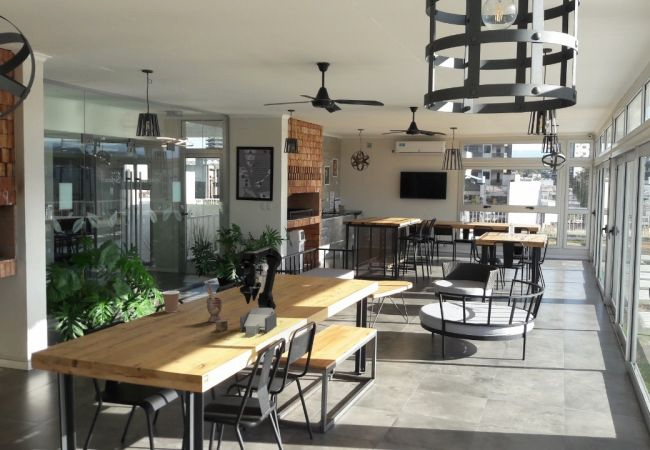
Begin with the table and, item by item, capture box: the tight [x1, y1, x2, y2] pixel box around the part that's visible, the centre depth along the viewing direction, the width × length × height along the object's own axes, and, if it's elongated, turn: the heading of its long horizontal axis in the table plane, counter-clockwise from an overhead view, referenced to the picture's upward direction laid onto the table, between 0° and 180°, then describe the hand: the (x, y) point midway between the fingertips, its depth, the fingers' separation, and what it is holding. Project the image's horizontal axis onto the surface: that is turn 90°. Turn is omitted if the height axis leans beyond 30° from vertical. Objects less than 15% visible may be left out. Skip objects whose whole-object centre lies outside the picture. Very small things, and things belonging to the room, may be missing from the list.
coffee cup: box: [162, 290, 180, 313], centre depth 387 cm, size 10×10×12 cm
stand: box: [215, 319, 228, 332], centre depth 338 cm, size 4×4×5 cm
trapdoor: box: [244, 306, 275, 329], centre depth 341 cm, size 16×12×3 cm
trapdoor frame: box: [239, 311, 278, 334], centre depth 340 cm, size 16×15×8 cm
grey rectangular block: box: [245, 323, 260, 337], centre depth 330 cm, size 5×5×7 cm
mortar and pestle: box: [205, 285, 223, 323], centre depth 360 cm, size 12×9×20 cm
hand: (250, 302), depth 348 cm, fingers open, 9 cm apart
